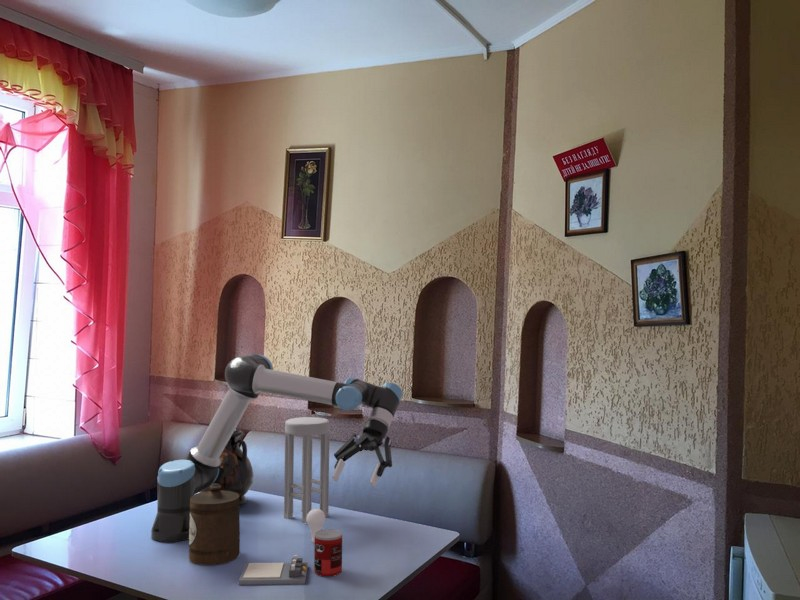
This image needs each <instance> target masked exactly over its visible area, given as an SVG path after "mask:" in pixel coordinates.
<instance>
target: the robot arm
mask: <svg viewBox="0 0 800 600" xmlns="http://www.w3.org/2000/svg"><path fill="white" fill-rule="evenodd" d="M224 379H225V381H226V383H227V384H226V385H227V388H228V389H227V392H226V393H225V395H224V398H223V399H222V401H221V403H220V405H219V407H218V408H217V411H216V412H215V414H214V416H213V418H212V419H211V421H210V423H209V425H208V427H207V429H206V431H205V432H204V434H203V436H202V438H201V440H200V441H199V443H198V445H196V446H195V447H191V449H190V450H189V453H188V454H187V456H186V457H185V459H175V460H172V461H168V462H164V463H163V464H162V465H160V466H159V469H158V470H157V477H156V479H157V506H156V507H157V509H156V511H157V512H156V515H155V519H154V521H153V524H152V526H151V527H152V528H151V531H150V532H151V533H150V535H151V536H150V537H151V539H153V540H154V539H155V541H157V540H158V541H159V542H163V541H166V542H167V543H171V542H172V543H174V542H180V541H181V542H182V541H185V540H189V527H190V498H191V497H192V496H193V495H195V494H198V493H200V491H202V490H204V489H206V488H208V487H209V486H210V485H212V484H213V483H214V482H215V480H216V479H217V477H218V474H219V466H220V464H221V459H220V456H221V454H222V452H223V450H224V448H225V447H226V445H227V443H228V441H229V439H230V437H231V436H232V434H233V432H234V430H235V429H236V428H237V426H238V425H239V422H240V421H241V419H242V418H243V415H244V414H245V412H246V410H247V408H248V406H249V404H250V403H251V401H253V400H256V399H258V397H259V395H260V394H261V392H262V393H268V394H272V395H273V394H274V395H278V396H283V397H287V398H288V397H289V398H294V399H297V400H305V401H310V402H315V403H320V404H324V405H325V404H326V405H329V406H335V407H339V408H340V409H341V410H343V411H353V410H355V409H357V408H359V406H361V405H362V406H366V407H369V408H371V410H370V413H369V415H368V418H367V421H366V422H365V424H364V426H363V430H362V433H361V435H357V434H356V433H355V432H354V433H352V434H351V436H350V438H349V439H347V441H346V442H344V444H342V445H341V447H339V449H338V450H337V451H335V452H334V454H333V456H334V458H335V459H336V462H335V464H334V467H333V469H334V471H333V473H332V475H331V477H332V479H333V480H334V481H335V482H338V481H339V480H340V479H339V478H340V476H341V474H342V473H343V470H344V467H345V465H346V461H347V460H349V459H350V458H352V457H353V456H354V455H356V454H357V453H359V452H363V451H369V452H375V453H376V457H377V459H378V462H379V463H376V466H375V468H374V471H373V473H372V475H371V478H370V480H369V483H370V485H371V487H372V488H376V486H377V483H378V480H379V478H380V477H382V476H383V474H384V472H385V470H386V468H387V467H388V468H392V467H393V461H392V460H393V459H392V458H393V457H392V450H391V447H392V443H393V442H392V440H391V438H390V436H387V434H388V432H389V429H390V426H391V423H392V422H393V419H394V417H395V414H396V411H397V410H398V407H399V405H400V403H401V399H402V397H403V393H404V392H403V389H402V388H401V387H400V385H398V384H396V383H394V382H385V383H383V385H381V386H379V385H376V384H373V383H369V382H367V381H363V380H362V379H359V378H354V377H347V378H346V380H345V381H344V382H338V381H334V380H333V381H332V380H328V379H322V378H317V377H312V376H306V375H303V374H301V375H300V374H296V373H289V372H286V371H282V370H281V371H280V370H275V369H274V367H273V363H272V362H271V360H270V359H269V358H268V357H266V356H265V355H263V354H259V353H251V354H247V355H241V356H238V357H234V358H233V359H231V361H229V362H228V363H227V365H226V366H225V370H224ZM382 445H384V456H383V455H382V452H381V449H380V446H382ZM384 457H385V458H384ZM158 541H157V542H158Z"/></svg>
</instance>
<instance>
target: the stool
mask: <svg viewBox="0 0 800 600" xmlns="http://www.w3.org/2000/svg"><path fill="white" fill-rule="evenodd" d="M330 424H331V423H330V420H329V419H327V418H323V417H318V416H317V417H316V416H315V417H314V416H312V417H311V416H304V417H294V418H293V417H292V418H289V419H287V420H286V421H285V423H284V428H285V429H284V479H283V480H284V483H283V484H284V486H283V488H284V490H283V518H284V519H287V518H290V519H292V518H294V498H297V499H301V513H302V514H301V515H302V516H301V518H302V519H301V521H302V522H301V523H302V524H305V523H306V525H308V524H307V521H306V517H307V514H308V513H309V512H310V511H311V510H312V497H313V496H312V495H313V493H317V494H319V509H320V510H322V511H323V512H324V514H325V518H327V517H329V509H330V507H329V505H330V503H329V501H330V500H329V499H330V497H329V496H330V495H329V494H330V430H331V429H330ZM319 435H320V462H319V463H320V464H319V465H320V467H319V469H320V472H319V473H320V474H319V475H320V477H319V478H320V479H319V480H317V479H313V436H319ZM295 436H302V449H301V450H302V452H301V457H302V459H301V485H299V484H296V483H294V457H295V456H294V455H295V453H294V452H295V447H294V446H295ZM312 484H314V485H318V486H319V488H315V487H312ZM294 489H296V490H300V491H301V493H298V492H294ZM312 492H313V493H312ZM326 516H327V517H326ZM291 517H292V518H291Z"/></svg>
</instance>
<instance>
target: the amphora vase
mask: <svg viewBox="0 0 800 600" xmlns="http://www.w3.org/2000/svg"><path fill="white" fill-rule="evenodd" d="M241 436H243V431H242V430H241V429H236V428H235V430H234V432H233V434H232V436H231V437H230V439H229V441H228V443H227V445H226V447H225V448H224V450H223V452H222V454H221V456H220V459H221V464H220V466H219V474H218V477H217V479H216V480H215V482H214V483H218V484H219V485H220V486H221V489H220V491H232V492H236V493H238V494H239V499H240V502H239V508H240V507H242V506H243V505H245V504H246V502H247V497H246V496H245V495H246V494H247V493H248V492H249V490H250V489H251V487H252V486H253V484H254V483H253V482H254V471H253V466H252V463H251V462H252V461H250V458H249V457H248V447H247V446H248V445H247V444H246V442H245V440H243V439H238V438H239V437H241ZM239 444H240V445H241V448H242V449H241V448H240V446H239ZM214 483H213V484H214ZM210 486H211V485H210ZM210 486H209V487H208V488H206V489H204V490H202V491H200V492H199V493H202V492H207V491H211V490H210Z"/></svg>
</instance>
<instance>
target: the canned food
mask: <svg viewBox="0 0 800 600" xmlns="http://www.w3.org/2000/svg"><path fill="white" fill-rule="evenodd" d="M313 544H314V545H313V547H314V552H313V553H314V559H313V560H314V561H313V565H314V567H313V569H314V573H315V574H316V575H317V574H318V576H319V575H321V576H320V577H324V576H331V577H335V576H334V575H336V576H338V575H340V574H341V572H342V569H343V533H342V531H340V530H338V529H334V528H333V529H332V528H331V529H327V528H326V529H321V530H320V531H317V532H316V533H315V543H313ZM339 573H340V574H339Z"/></svg>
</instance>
